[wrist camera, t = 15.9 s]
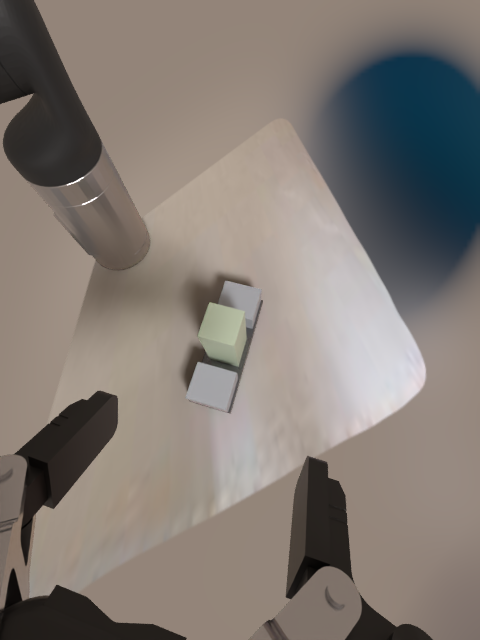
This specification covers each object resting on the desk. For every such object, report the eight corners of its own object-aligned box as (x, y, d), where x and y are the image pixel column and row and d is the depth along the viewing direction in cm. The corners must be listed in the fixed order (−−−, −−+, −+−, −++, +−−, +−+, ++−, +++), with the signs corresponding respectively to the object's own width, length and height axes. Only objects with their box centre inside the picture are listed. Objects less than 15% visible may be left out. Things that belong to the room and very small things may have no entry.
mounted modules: (190, 401, 40) (185, 397, 37) (227, 291, 46) (225, 280, 42) (228, 412, 40) (225, 410, 36) (260, 300, 45) (261, 289, 42)
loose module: (209, 358, 42) (197, 336, 33) (218, 331, 44) (209, 302, 34) (238, 366, 42) (234, 346, 32) (246, 338, 43) (244, 311, 34)
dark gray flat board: (190, 401, 41) (189, 400, 40) (226, 294, 47) (225, 291, 46) (230, 413, 41) (230, 413, 40) (262, 303, 46) (262, 300, 45)
